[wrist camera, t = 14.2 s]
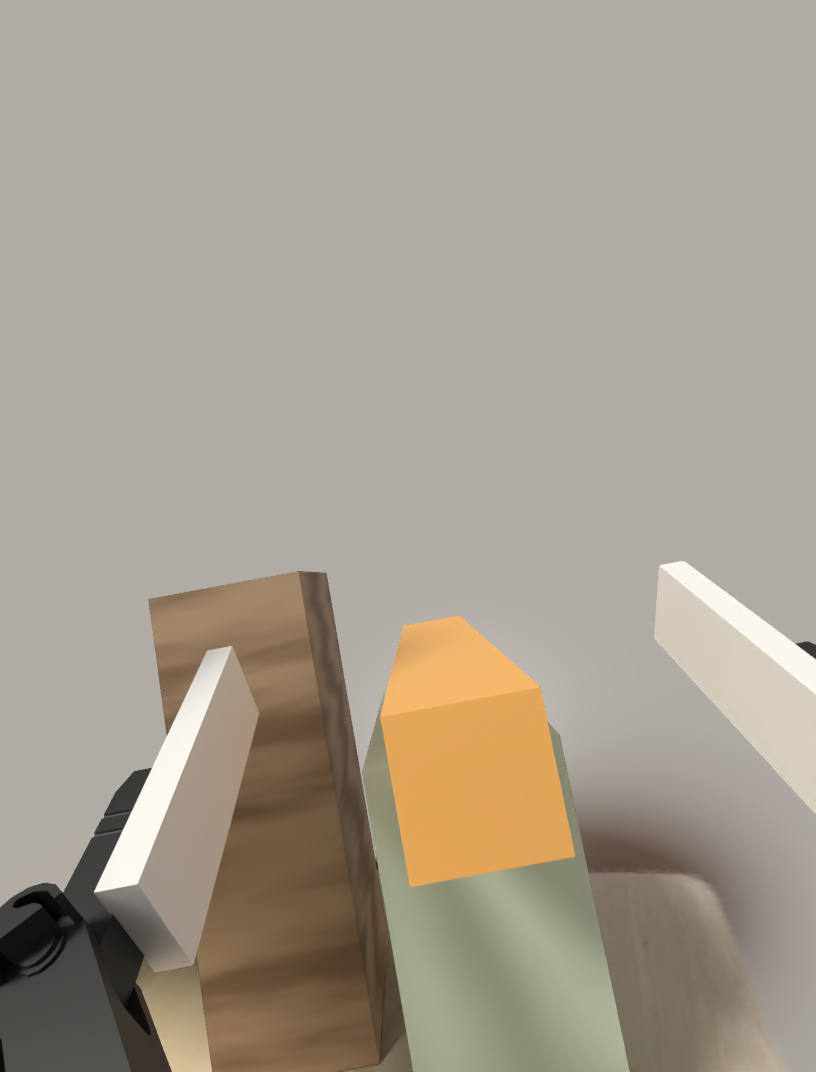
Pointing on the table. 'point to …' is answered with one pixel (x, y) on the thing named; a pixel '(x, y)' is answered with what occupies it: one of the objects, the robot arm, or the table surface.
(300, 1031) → the post
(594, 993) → the pale green rectangular block
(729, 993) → the table surface
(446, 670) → the bar
